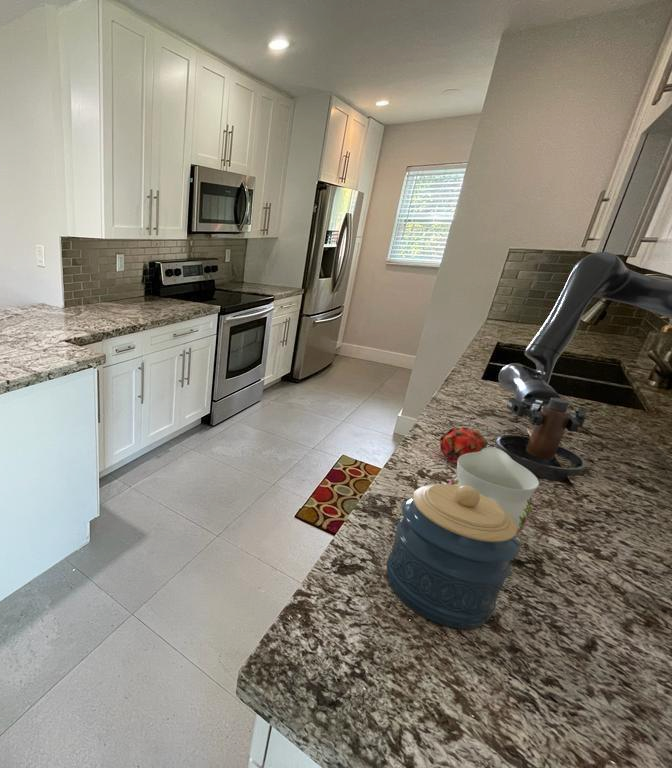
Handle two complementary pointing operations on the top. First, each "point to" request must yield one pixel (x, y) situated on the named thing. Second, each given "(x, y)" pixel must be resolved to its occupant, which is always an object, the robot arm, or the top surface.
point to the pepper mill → (549, 429)
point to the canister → (452, 555)
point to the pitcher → (498, 481)
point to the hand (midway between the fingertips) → (556, 424)
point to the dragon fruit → (461, 443)
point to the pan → (540, 459)
